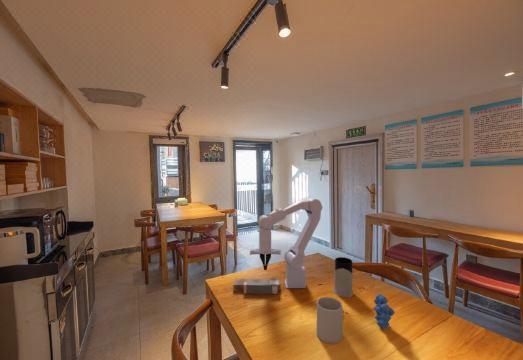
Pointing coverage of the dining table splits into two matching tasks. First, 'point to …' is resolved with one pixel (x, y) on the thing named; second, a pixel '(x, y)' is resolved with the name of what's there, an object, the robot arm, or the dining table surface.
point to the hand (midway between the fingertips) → (265, 269)
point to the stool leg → (260, 288)
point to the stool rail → (239, 283)
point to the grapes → (382, 311)
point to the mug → (329, 320)
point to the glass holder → (343, 277)
